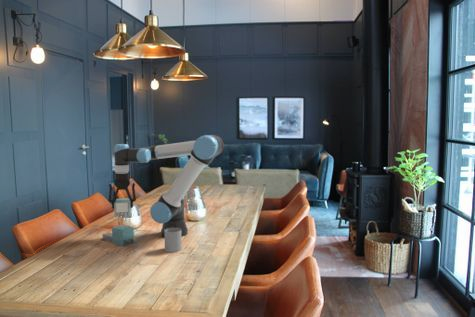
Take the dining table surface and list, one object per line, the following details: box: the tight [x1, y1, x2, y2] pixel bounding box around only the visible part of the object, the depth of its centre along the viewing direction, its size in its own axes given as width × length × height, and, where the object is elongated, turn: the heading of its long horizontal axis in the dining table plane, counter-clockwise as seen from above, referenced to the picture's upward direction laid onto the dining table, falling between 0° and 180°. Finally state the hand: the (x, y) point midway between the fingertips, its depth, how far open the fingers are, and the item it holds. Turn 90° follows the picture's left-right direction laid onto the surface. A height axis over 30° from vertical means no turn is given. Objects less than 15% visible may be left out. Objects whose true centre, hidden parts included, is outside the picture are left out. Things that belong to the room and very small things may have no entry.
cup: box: [163, 228, 183, 253], centre depth 200 cm, size 8×8×10 cm
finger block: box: [114, 197, 130, 218], centre depth 219 cm, size 10×7×8 cm
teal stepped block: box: [102, 224, 135, 247], centre depth 215 cm, size 20×7×8 cm, turn 53°
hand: (122, 214), depth 219 cm, fingers closed on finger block, 7 cm apart
